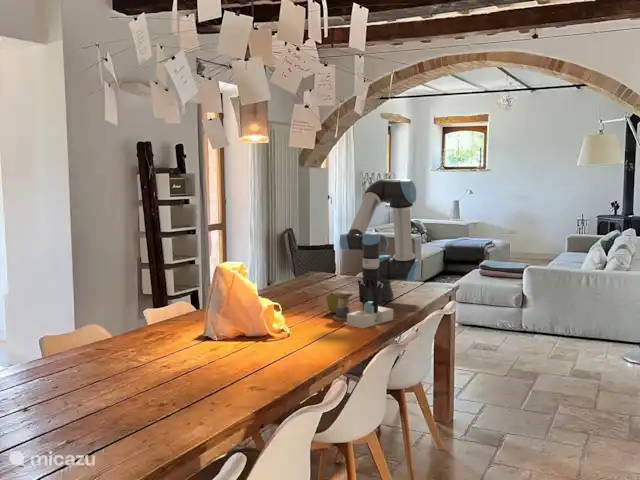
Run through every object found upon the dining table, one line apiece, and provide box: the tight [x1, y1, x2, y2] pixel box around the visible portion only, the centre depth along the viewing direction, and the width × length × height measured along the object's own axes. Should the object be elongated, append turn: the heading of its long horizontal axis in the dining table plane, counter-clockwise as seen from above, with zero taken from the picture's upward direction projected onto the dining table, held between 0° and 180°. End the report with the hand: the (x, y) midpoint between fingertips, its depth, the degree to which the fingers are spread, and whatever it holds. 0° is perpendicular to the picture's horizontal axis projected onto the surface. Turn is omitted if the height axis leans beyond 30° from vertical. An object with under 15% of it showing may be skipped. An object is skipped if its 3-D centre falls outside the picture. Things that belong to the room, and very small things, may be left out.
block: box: [365, 300, 373, 313], centre depth 281 cm, size 4×4×8 cm
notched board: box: [346, 305, 394, 329], centre depth 281 cm, size 22×9×5 cm, turn 137°
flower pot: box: [326, 292, 350, 314], centre depth 301 cm, size 9×9×9 cm
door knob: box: [332, 290, 353, 322], centre depth 288 cm, size 9×9×12 cm
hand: (370, 318), depth 281 cm, fingers closed on block, 3 cm apart
